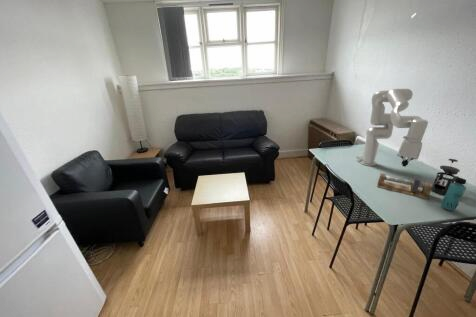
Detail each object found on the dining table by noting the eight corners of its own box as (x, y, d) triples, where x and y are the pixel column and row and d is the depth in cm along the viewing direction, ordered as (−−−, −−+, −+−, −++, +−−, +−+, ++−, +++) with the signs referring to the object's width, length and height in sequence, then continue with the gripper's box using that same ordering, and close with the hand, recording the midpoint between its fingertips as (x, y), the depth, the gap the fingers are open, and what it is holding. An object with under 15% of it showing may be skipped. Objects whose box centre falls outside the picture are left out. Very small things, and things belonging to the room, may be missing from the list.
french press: (433, 194, 132) (447, 161, 122) (426, 186, 140) (438, 155, 131) (456, 196, 128) (472, 163, 119) (447, 189, 136) (461, 157, 127)
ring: (411, 191, 132) (415, 180, 128) (410, 186, 137) (414, 175, 134) (416, 192, 130) (420, 181, 127) (415, 187, 136) (419, 176, 133)
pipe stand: (377, 187, 141) (379, 177, 138) (378, 180, 149) (380, 171, 146) (428, 199, 127) (432, 188, 124) (426, 191, 134) (430, 181, 131)
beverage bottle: (436, 206, 120) (449, 176, 112) (446, 205, 121) (460, 175, 113) (447, 213, 114) (462, 182, 106) (458, 212, 115) (473, 181, 107)
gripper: (398, 139, 126) (389, 165, 134) (430, 143, 118) (419, 171, 126) (398, 135, 132) (390, 160, 140) (428, 139, 124) (418, 166, 132)
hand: (403, 165), depth 133 cm, fingers closed
